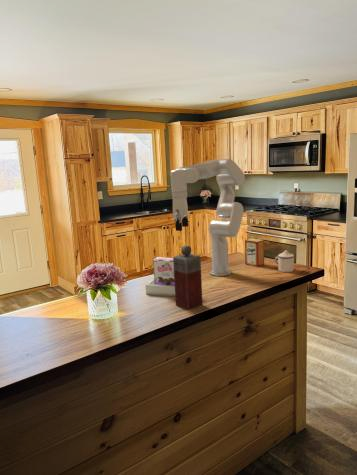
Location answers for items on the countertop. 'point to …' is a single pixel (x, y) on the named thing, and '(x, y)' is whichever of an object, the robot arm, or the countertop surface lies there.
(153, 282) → the tray
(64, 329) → the countertop surface
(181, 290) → the red canister with lid
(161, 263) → the candy box
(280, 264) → the teacup with lid
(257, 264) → the baking soda box
